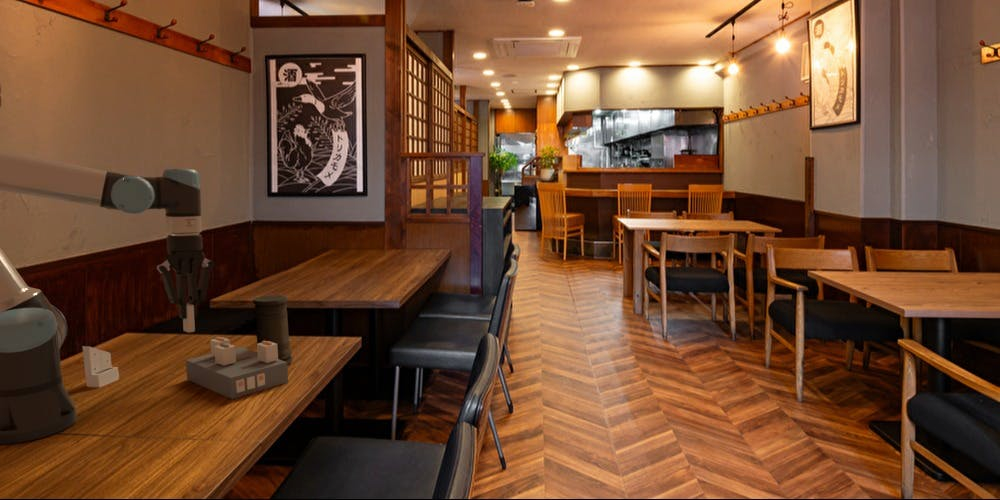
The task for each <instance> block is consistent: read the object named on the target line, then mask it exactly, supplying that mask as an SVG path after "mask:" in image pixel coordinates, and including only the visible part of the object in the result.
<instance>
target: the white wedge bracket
mask: <svg viewBox="0 0 1000 500" xmlns="http://www.w3.org/2000/svg"><path fill="white" fill-rule="evenodd" d="M82 354H83V363H84V376H85V383H86V387H88V388H101V387H102V388H103V387H104V386H107V385H108V384H112V383H114V382H116V381H119V380H120V376H119V367H118V366H112V358H111V357H112V355H111V352H108V351H105V350H103V349H99V348H95V347H92V346H89V345H88V346H86V345H85V346H84V345H82Z"/></svg>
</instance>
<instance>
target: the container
mask: <svg viewBox="0 0 1000 500" xmlns="http://www.w3.org/2000/svg"><path fill="white" fill-rule="evenodd" d="M252 301H253V304H254V308H255V314H254V317H255V329H256V345H257V344H259V343H262V341H269V342H273V343H276V344H277V348H278V359H279V360H282V361H285V362H287V366H289V365H290V364H292V363H293V359H294V358H293V356H292V350H291V345H290V344H291V342H290V337H289V323H288V322H289V321H288V310H287V306H288V305H287V304H288V302H287V301H288V296H287V295H285V294H284V295H283V294H270V295H269V294H268V295H262V296H258V297H255V298H253V300H252Z"/></svg>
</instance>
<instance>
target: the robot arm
mask: <svg viewBox="0 0 1000 500" xmlns="http://www.w3.org/2000/svg"><path fill="white" fill-rule="evenodd" d="M0 191H2V192H6V193H7V192H9V193H14V194H20V195H26V196H33V197H37V198H44V199H45V198H46V199H50V200H57V201H63V202H69V203H74V204H81V205H86V206H92V207H98V208H104V209H106V210H111V211H112V210H113V211H114V210H115V211H121V212H123V213H127V214H135V215H137V214H141V213H143V212H145V211H147V210H165V230H166V233H167V234H169V235H167V236H166V249H167V254H166V257H165V261H164V262H162V263H161V264H156V265H155V269H156V271H157V272H158V273H159V274H160V277H161V279H162V282H163V285H164V289H165V292H166V295H167V298H168V301H169V303H171V304H174V305H177V306H178V317H179V319H181V320H182V324H183V325H182V327H183V332H186V333H194V332H195V331H196V328H195V327H196V326H195V318H197V317H198V315H199V313H198V309H199V308H198V305H199V304H200V303H201V302H202V301H205V300H206V296H207V292H208V287H209V281H210V278H211V277H210V276H211V271H212V270H213V268H214V267H215V264H216V263H215V261H213V260H209V259H208V258H206V256H205V253H204V251H203V248H204V246H203V245H204V244H203V235H202V234H200V233H201V232H203V227H202V226H203V224H202V206H201V205H202V204H201V203H202V202H201V201H202V199H201V185H200V174H199V172H198V171H197V170H196V169H193V168H165V169H163V174H162V176H154V177H152V176H137V175H129V174H124V173H118V172H112V171H107V170H104V169H98V168H93V167H87V166H82V165H76V164H72V163H69V162H61V161H57V160H51V159H47V158H42V157H41V158H40V157H36V156H31V155H27V154H21V153H15V152H10V151H5V150H0ZM200 267H201V270H200V275H198V272H199V271H198V270H199V268H200ZM170 268H171V269H172V270H173V271H174V274H175V278H176V279H175V281H176V287H175V284H174V281H173V278H172V274H171V272H170V270H171V269H170ZM198 276H199V280H198ZM187 296H188V297H187ZM188 302H189V303H188ZM67 332H68V324H67V320H66V318H65V316H64V314H63V313H62V312H61V311H60V310H59V309H58V308H57V307H55V306H54V305H52V304H51V303H50V302H49V300H48V298H47V297H46V295H44V293H43V291H42V290H41V289H39V288H34V287H31V286H29V285H28V284H27V283H26V282H25V280H24V279H23V278H22V276H21V275H20V273H19V272H18V271H17V269H16V268H15V267H14V265H13V263H12V262H11V260H10V259H9V258H8V256H7V255H6V253H5V252H4V251H3V249H2V248H1V247H0V445H10V444H19V443H20V444H21V443H25V442H30V441H34V440H39V439H43V438H45V437H48V436H52V435H55V434H57V433H60V432H62V431H64V430H66V429H68V428H70V427H71V426H73V425H74V424H75V423H76V422H77V421H78V414H77V408H76V405H75V403H74V402H73V400H72V398H71V397H70V395H69V393H68V391H67V389H66V387H65V386H64V382H63V375H62V374H63V372H62V363H61V362H62V361H61V356H60V354H61V353H60V349H61V347H62V345H63V344H64V342H65V340H66V336H67V334H68V333H67Z"/></svg>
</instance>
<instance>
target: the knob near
mask: <svg viewBox="0 0 1000 500" xmlns="http://www.w3.org/2000/svg"><path fill="white" fill-rule="evenodd" d="M256 350H257V351H256V352H257V353H258V360H260V361H262V362H265V363H269V362H272V361H276V360H278V348H277V344H276V343H273V342H269V341H262V343H259V344H257V343H256Z"/></svg>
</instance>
